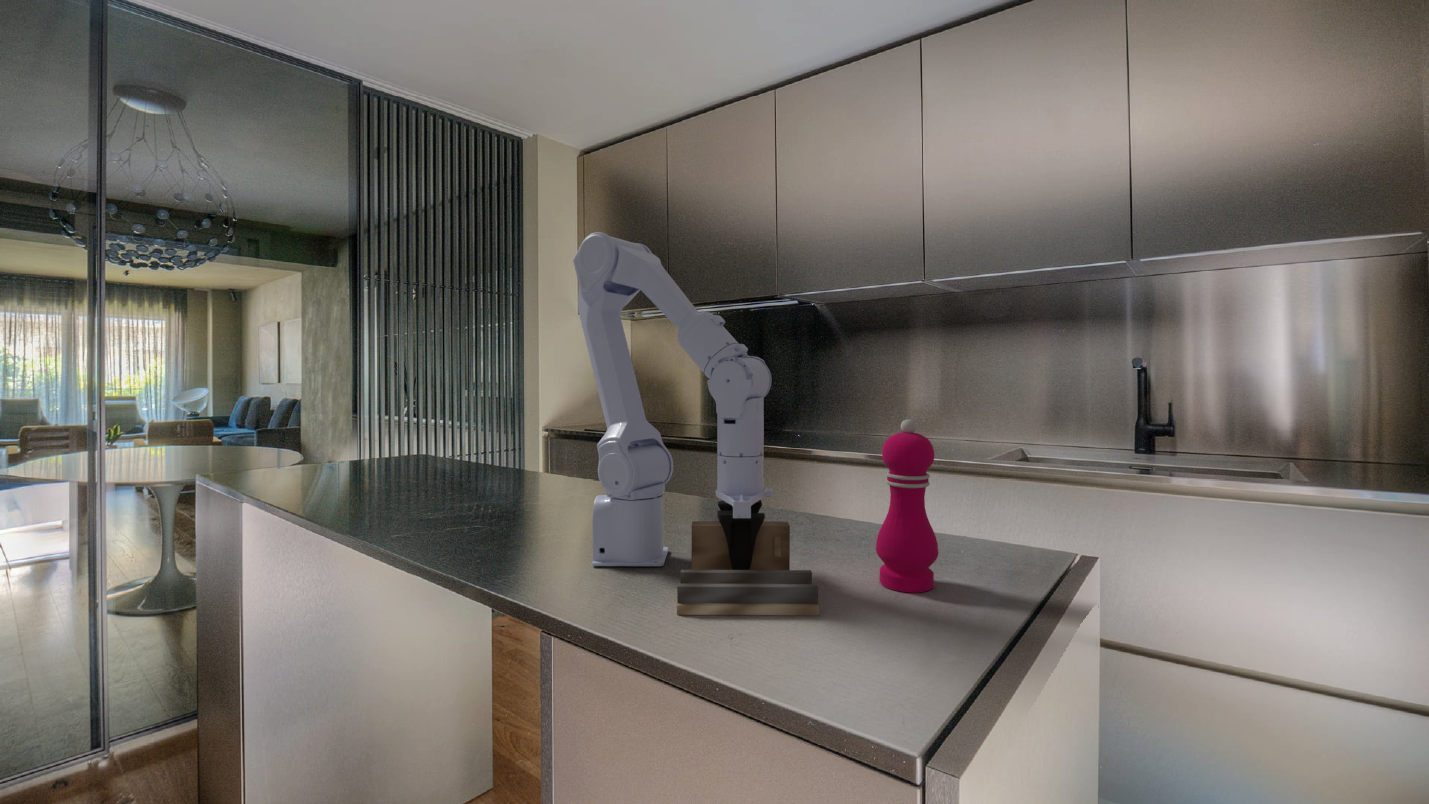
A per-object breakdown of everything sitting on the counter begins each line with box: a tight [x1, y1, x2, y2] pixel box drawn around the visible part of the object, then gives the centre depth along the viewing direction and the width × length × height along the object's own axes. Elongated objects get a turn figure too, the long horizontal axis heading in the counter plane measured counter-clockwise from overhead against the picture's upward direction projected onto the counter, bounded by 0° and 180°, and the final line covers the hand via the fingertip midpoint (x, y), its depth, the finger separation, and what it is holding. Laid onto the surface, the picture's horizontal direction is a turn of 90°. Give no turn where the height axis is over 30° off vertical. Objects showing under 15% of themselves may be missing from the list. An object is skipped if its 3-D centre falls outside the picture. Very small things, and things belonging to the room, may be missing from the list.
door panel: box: [691, 520, 791, 570], centre depth 78 cm, size 12×3×7 cm, turn 89°
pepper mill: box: [875, 418, 939, 594], centre depth 76 cm, size 7×7×20 cm
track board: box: [676, 569, 820, 616], centre depth 70 cm, size 15×7×3 cm, turn 89°
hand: (740, 563), depth 79 cm, fingers open, 4 cm apart
